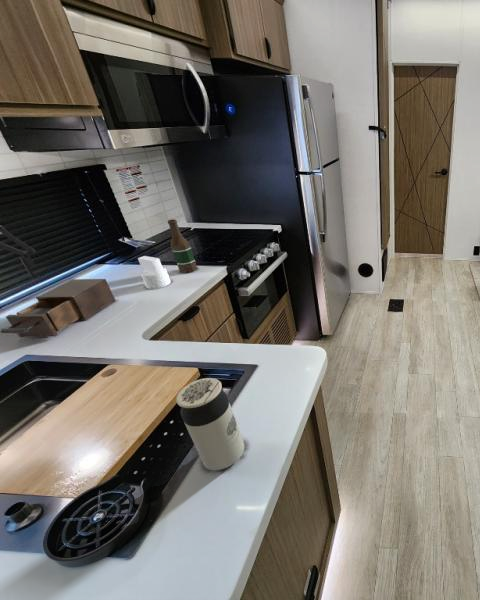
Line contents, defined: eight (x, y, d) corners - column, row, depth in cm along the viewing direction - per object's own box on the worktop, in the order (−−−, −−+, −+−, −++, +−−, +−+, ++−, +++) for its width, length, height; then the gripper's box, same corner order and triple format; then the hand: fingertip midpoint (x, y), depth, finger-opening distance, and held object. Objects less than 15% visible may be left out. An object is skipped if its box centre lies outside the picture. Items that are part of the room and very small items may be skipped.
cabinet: (86, 320, 118) (73, 296, 113) (50, 321, 118) (35, 297, 113) (116, 300, 131) (105, 278, 126) (83, 301, 130) (71, 279, 126)
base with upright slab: (175, 281, 146) (166, 255, 140) (156, 290, 139) (145, 263, 133) (160, 278, 149) (151, 253, 143) (141, 287, 141) (130, 260, 135)
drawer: (40, 345, 103) (27, 324, 99) (3, 346, 103) (-12, 325, 99) (88, 314, 119) (78, 295, 116) (56, 315, 119) (45, 296, 115)
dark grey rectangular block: (56, 327, 110) (48, 314, 107) (34, 328, 110) (25, 314, 107) (67, 321, 114) (59, 307, 111) (46, 321, 114) (38, 308, 111)
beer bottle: (201, 269, 158) (185, 219, 146) (185, 274, 152) (167, 223, 141) (192, 265, 161) (175, 217, 150) (175, 271, 156) (157, 221, 144)
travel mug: (194, 468, 67) (163, 404, 59) (219, 436, 74) (194, 374, 66) (230, 474, 66) (204, 410, 58) (251, 440, 73) (231, 378, 64)
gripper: (17, 203, 99) (54, 268, 109) (-126, 222, 81) (-66, 298, 91) (24, 206, 95) (60, 273, 105) (-125, 227, 77) (-63, 305, 87)
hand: (2, 285), depth 98 cm, fingers open, 13 cm apart
